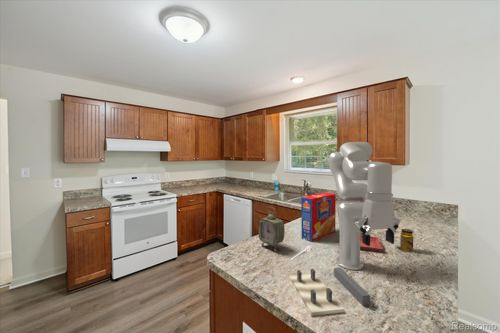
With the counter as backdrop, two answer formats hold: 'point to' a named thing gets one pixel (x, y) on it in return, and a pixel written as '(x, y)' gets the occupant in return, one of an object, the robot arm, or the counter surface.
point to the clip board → (315, 294)
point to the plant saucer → (371, 245)
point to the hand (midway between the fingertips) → (378, 243)
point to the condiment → (406, 241)
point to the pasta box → (318, 216)
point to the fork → (302, 252)
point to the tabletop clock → (271, 229)
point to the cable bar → (352, 286)
